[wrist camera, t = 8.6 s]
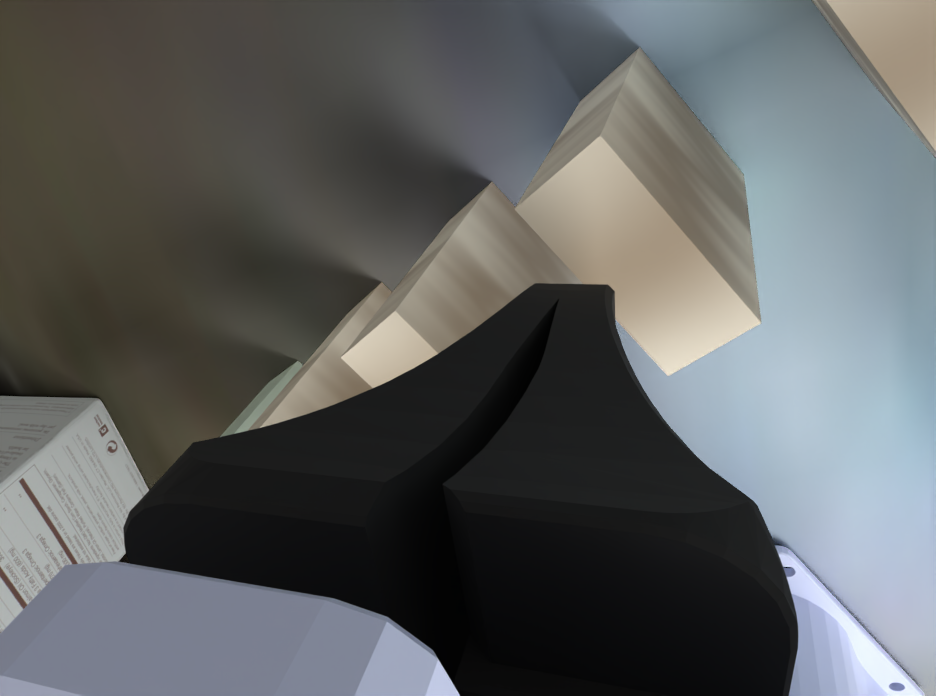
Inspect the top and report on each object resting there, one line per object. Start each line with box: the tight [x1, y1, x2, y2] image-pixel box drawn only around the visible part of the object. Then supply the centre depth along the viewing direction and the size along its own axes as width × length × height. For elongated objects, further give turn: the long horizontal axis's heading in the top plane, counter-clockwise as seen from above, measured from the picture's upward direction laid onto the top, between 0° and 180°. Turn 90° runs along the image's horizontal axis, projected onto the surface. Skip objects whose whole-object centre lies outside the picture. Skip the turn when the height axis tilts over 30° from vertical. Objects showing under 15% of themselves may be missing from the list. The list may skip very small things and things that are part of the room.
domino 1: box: [248, 282, 392, 430], centre depth 22 cm, size 4×2×8 cm, turn 46°
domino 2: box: [341, 182, 583, 388], centre depth 19 cm, size 4×2×8 cm, turn 47°
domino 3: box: [515, 47, 761, 376], centre depth 16 cm, size 4×2×8 cm, turn 47°
